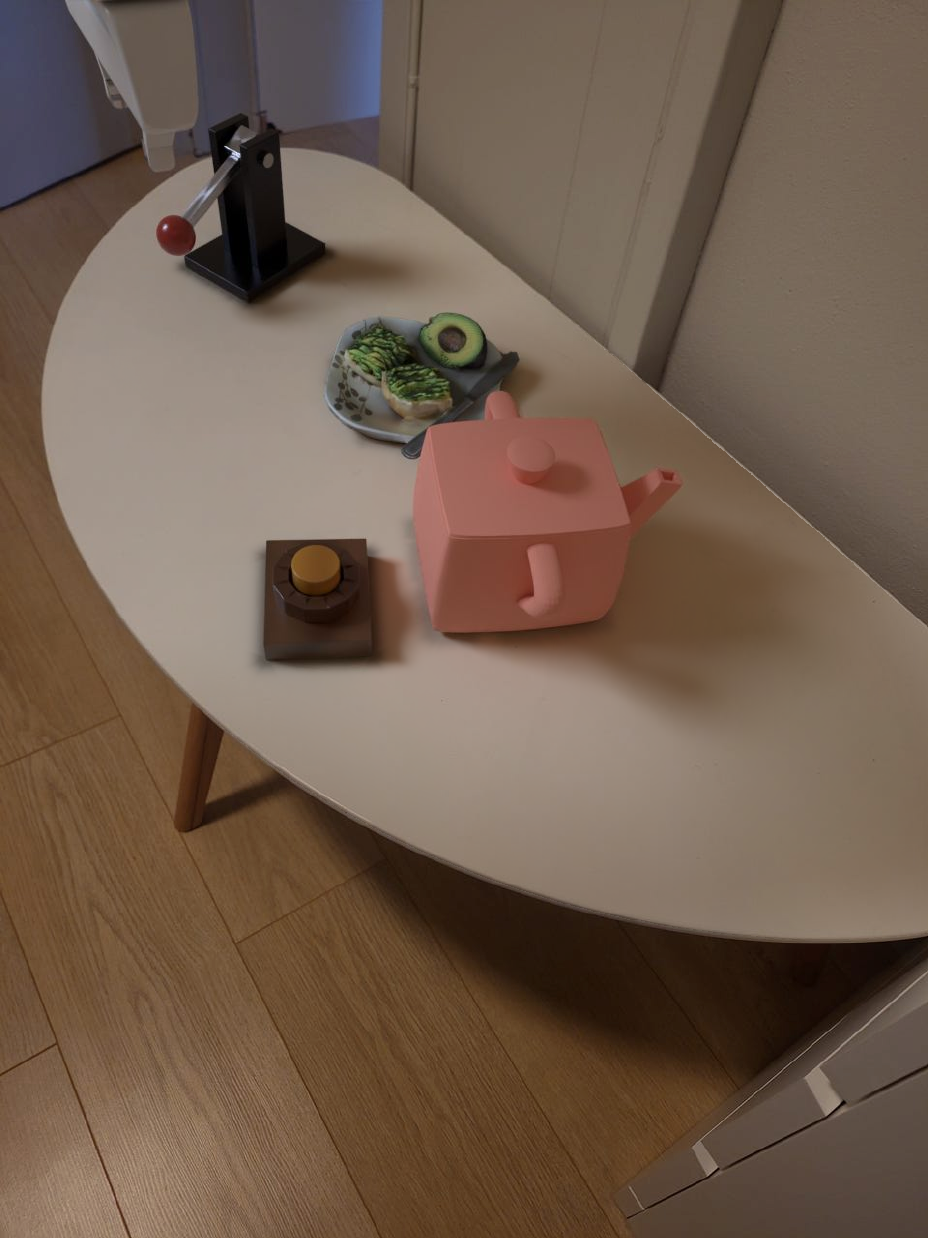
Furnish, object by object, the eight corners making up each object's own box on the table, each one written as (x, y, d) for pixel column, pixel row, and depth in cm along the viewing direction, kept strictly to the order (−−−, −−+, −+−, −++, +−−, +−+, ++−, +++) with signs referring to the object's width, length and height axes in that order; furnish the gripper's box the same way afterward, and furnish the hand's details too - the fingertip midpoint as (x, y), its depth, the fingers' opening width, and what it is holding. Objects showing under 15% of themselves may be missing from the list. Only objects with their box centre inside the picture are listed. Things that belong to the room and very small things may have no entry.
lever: (186, 269, 88) (169, 245, 84) (160, 254, 89) (141, 229, 85) (274, 158, 89) (261, 130, 86) (247, 144, 90) (233, 116, 87)
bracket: (248, 303, 93) (233, 172, 82) (185, 266, 96) (162, 134, 85) (326, 253, 100) (321, 125, 88) (264, 220, 102) (253, 91, 91)
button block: (265, 660, 69) (260, 630, 66) (268, 557, 75) (264, 525, 71) (371, 656, 70) (372, 626, 67) (366, 555, 76) (366, 523, 73)
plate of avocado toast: (497, 487, 82) (503, 449, 78) (301, 452, 82) (298, 413, 78) (521, 351, 93) (528, 313, 89) (349, 321, 93) (348, 282, 89)
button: (292, 597, 68) (291, 582, 67) (292, 559, 70) (291, 545, 69) (340, 595, 69) (340, 581, 67) (339, 558, 71) (339, 544, 69)
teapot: (435, 693, 69) (450, 580, 57) (401, 480, 81) (408, 353, 70) (684, 671, 72) (744, 560, 61) (615, 470, 84) (654, 347, 73)
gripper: (8, -147, 61) (61, 74, 72) (94, -19, 51) (139, 213, 62) (104, -150, 63) (141, 65, 74) (204, -28, 53) (228, 197, 64)
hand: (141, 134), depth 68 cm, fingers open, 8 cm apart
